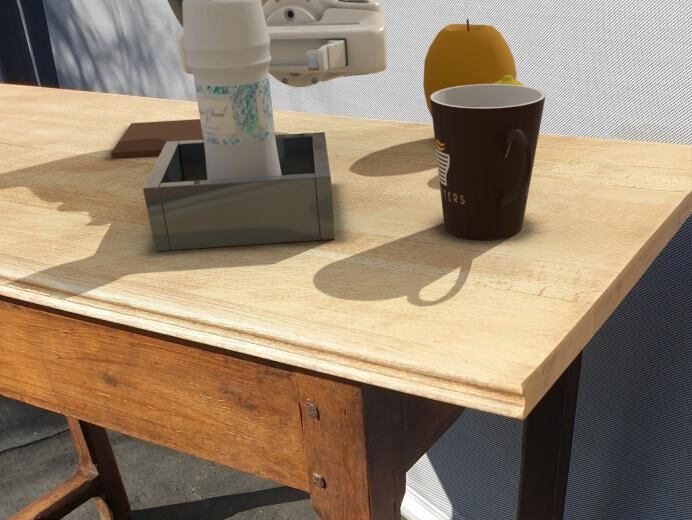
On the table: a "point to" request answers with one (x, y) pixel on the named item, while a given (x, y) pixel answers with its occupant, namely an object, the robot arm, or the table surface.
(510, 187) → the coffee mug
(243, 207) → the grey open box
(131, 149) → the mat
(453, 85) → the apple
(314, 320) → the table surface
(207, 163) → the bottle
